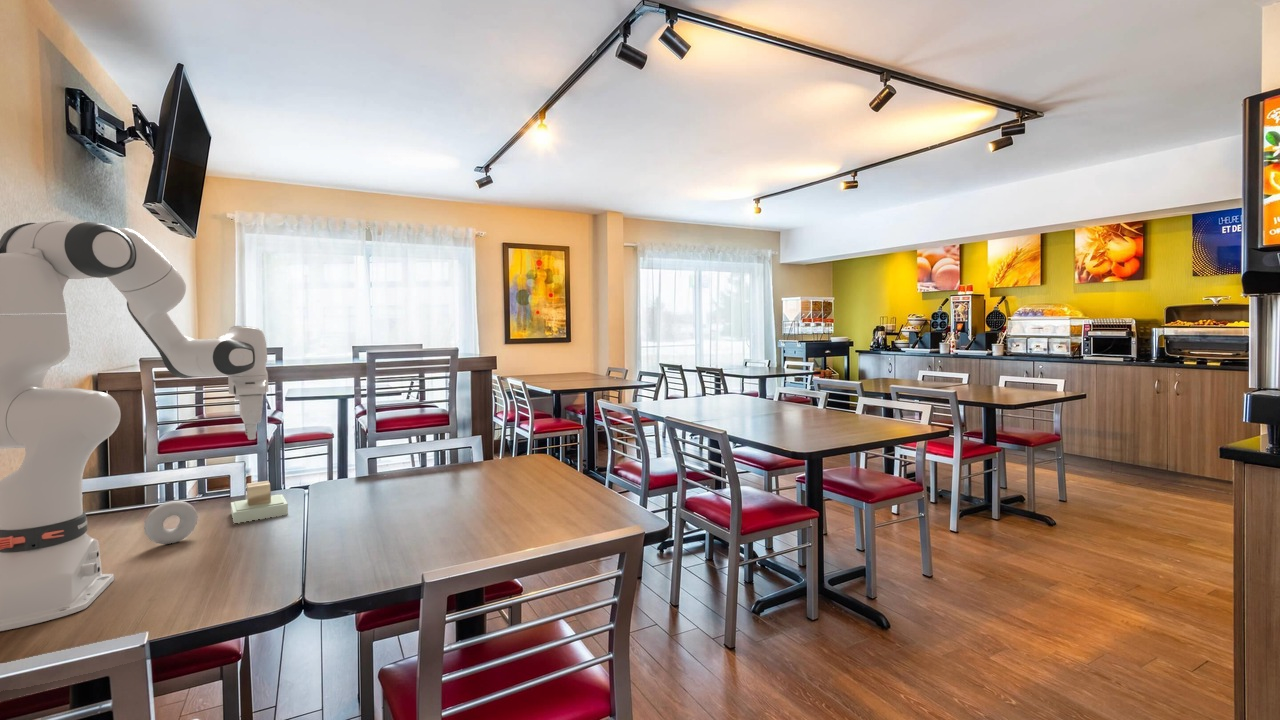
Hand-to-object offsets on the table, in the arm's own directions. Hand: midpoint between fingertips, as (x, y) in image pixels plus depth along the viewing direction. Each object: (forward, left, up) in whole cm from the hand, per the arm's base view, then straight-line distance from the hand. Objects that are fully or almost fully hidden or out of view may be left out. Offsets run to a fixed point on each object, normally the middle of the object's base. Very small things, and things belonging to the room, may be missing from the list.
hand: (250, 437), depth 152 cm
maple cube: (0, -1, -18) cm, 18 cm away
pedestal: (0, -1, -21) cm, 21 cm away
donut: (-13, +17, -22) cm, 30 cm away
